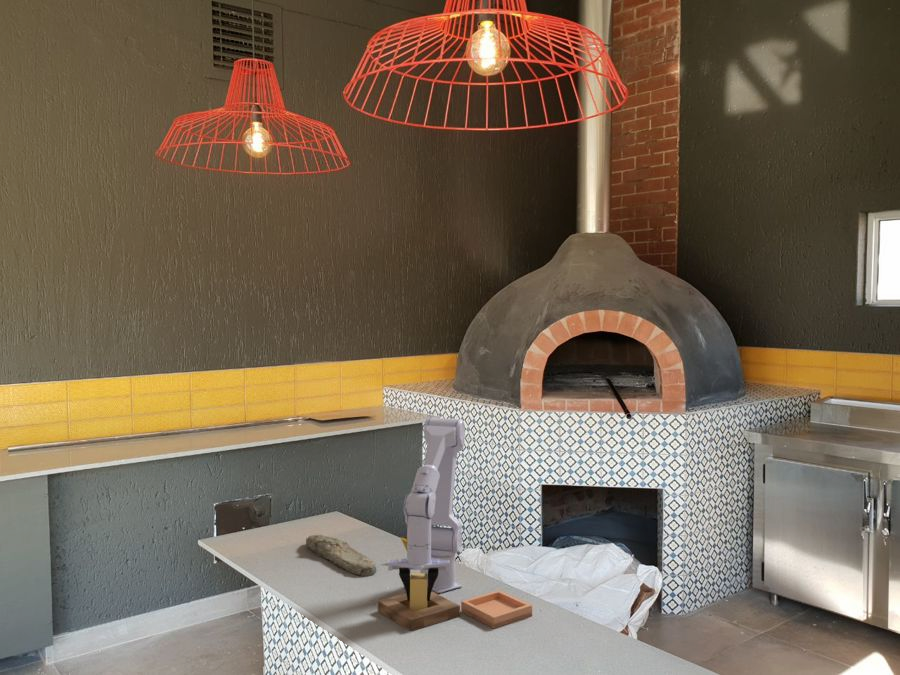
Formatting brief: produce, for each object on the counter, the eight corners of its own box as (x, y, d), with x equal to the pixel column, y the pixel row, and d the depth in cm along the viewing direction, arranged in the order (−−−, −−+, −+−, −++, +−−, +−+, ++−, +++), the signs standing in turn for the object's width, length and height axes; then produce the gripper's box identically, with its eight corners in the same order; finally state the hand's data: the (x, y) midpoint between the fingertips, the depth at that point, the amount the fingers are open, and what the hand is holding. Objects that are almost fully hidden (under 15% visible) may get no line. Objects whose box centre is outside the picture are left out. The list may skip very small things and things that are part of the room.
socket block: (377, 611, 180) (378, 600, 180) (425, 597, 189) (425, 588, 189) (411, 631, 169) (411, 620, 169) (459, 616, 178) (459, 605, 177)
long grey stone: (353, 585, 201) (385, 579, 207) (355, 566, 201) (386, 561, 207) (296, 545, 229) (325, 541, 235) (297, 528, 229) (326, 524, 235)
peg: (409, 617, 177) (410, 579, 176) (410, 610, 181) (410, 573, 180) (426, 617, 177) (427, 579, 176) (427, 610, 181) (427, 573, 180)
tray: (461, 611, 180) (461, 601, 180) (498, 600, 188) (498, 590, 188) (493, 628, 171) (494, 617, 171) (532, 615, 178) (532, 605, 178)
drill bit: (420, 568, 212) (396, 542, 213) (416, 570, 217) (392, 545, 218) (433, 554, 214) (408, 529, 215) (429, 556, 219) (405, 531, 220)
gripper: (387, 548, 174) (386, 605, 175) (449, 548, 174) (449, 606, 175) (389, 538, 181) (389, 594, 182) (449, 539, 181) (449, 594, 182)
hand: (418, 599), depth 179 cm, fingers closed on peg, 4 cm apart
